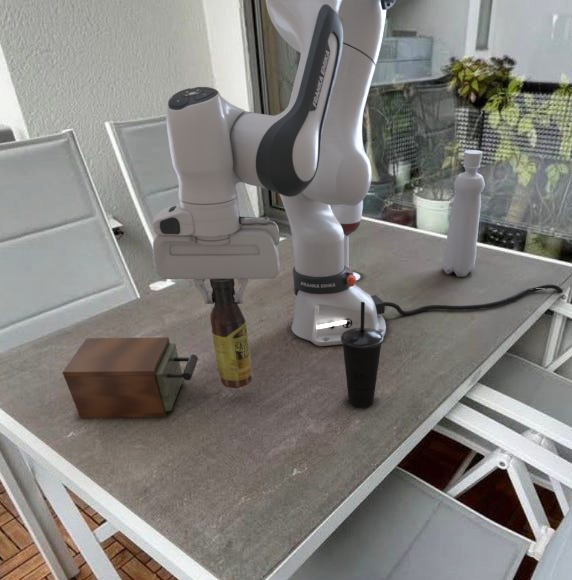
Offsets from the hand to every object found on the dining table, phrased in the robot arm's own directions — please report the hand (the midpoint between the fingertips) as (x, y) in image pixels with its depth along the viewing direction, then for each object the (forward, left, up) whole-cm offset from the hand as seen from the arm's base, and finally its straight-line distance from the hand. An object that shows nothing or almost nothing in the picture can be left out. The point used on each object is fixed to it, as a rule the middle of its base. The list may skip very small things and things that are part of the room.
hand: (224, 302), depth 95 cm
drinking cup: (-24, +2, -20) cm, 31 cm away
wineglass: (-23, -62, -20) cm, 69 cm away
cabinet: (+21, 0, -19) cm, 29 cm away
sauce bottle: (0, 0, -16) cm, 16 cm away
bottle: (-55, -65, -20) cm, 87 cm away
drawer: (+17, 0, -18) cm, 25 cm away
